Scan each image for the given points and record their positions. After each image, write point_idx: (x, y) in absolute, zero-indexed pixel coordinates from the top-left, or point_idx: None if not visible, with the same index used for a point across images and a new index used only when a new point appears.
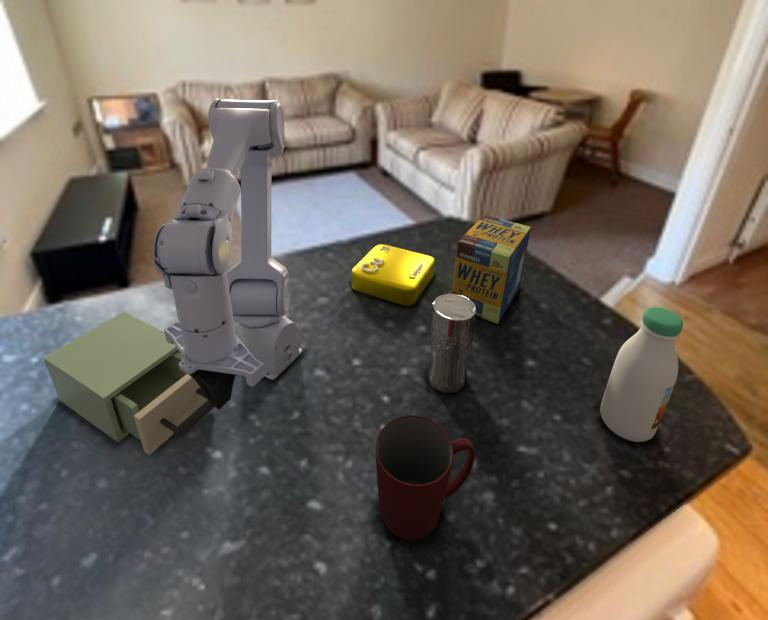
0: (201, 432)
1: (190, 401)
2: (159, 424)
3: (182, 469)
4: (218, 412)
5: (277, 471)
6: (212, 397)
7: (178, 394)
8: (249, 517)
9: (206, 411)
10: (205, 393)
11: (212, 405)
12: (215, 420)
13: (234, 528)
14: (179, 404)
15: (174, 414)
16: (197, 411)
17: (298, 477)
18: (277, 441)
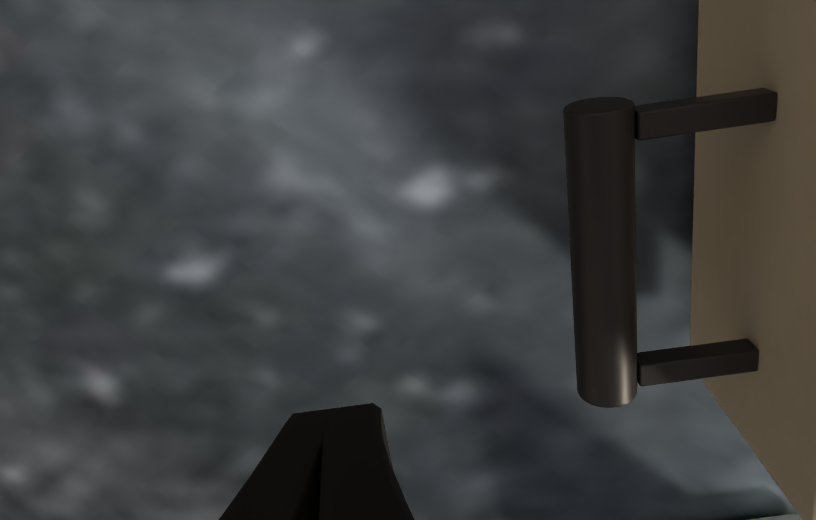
0: None
1: (741, 284)
2: (765, 79)
3: (498, 36)
4: None
5: (146, 299)
6: (259, 513)
7: (810, 278)
8: (43, 98)
9: (577, 305)
10: (365, 499)
11: (355, 409)
12: None
13: (43, 24)
14: (766, 236)
15: (749, 179)
16: (612, 275)
17: (59, 333)
18: (269, 382)
